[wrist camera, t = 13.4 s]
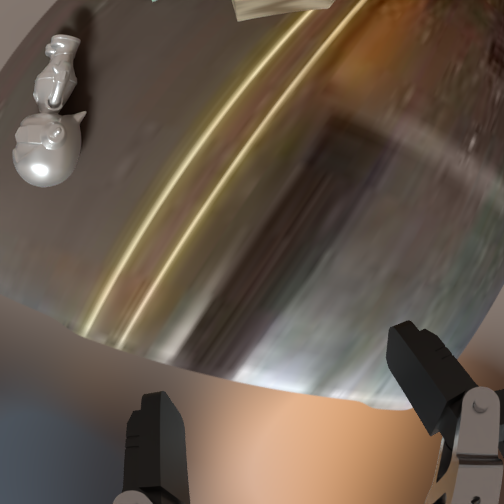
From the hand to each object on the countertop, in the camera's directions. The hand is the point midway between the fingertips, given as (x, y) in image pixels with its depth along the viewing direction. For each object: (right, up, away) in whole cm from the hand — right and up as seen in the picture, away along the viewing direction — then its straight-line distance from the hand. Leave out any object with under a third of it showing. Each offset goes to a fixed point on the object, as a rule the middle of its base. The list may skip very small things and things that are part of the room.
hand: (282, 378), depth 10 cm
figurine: (-20, +20, +18) cm, 33 cm away
